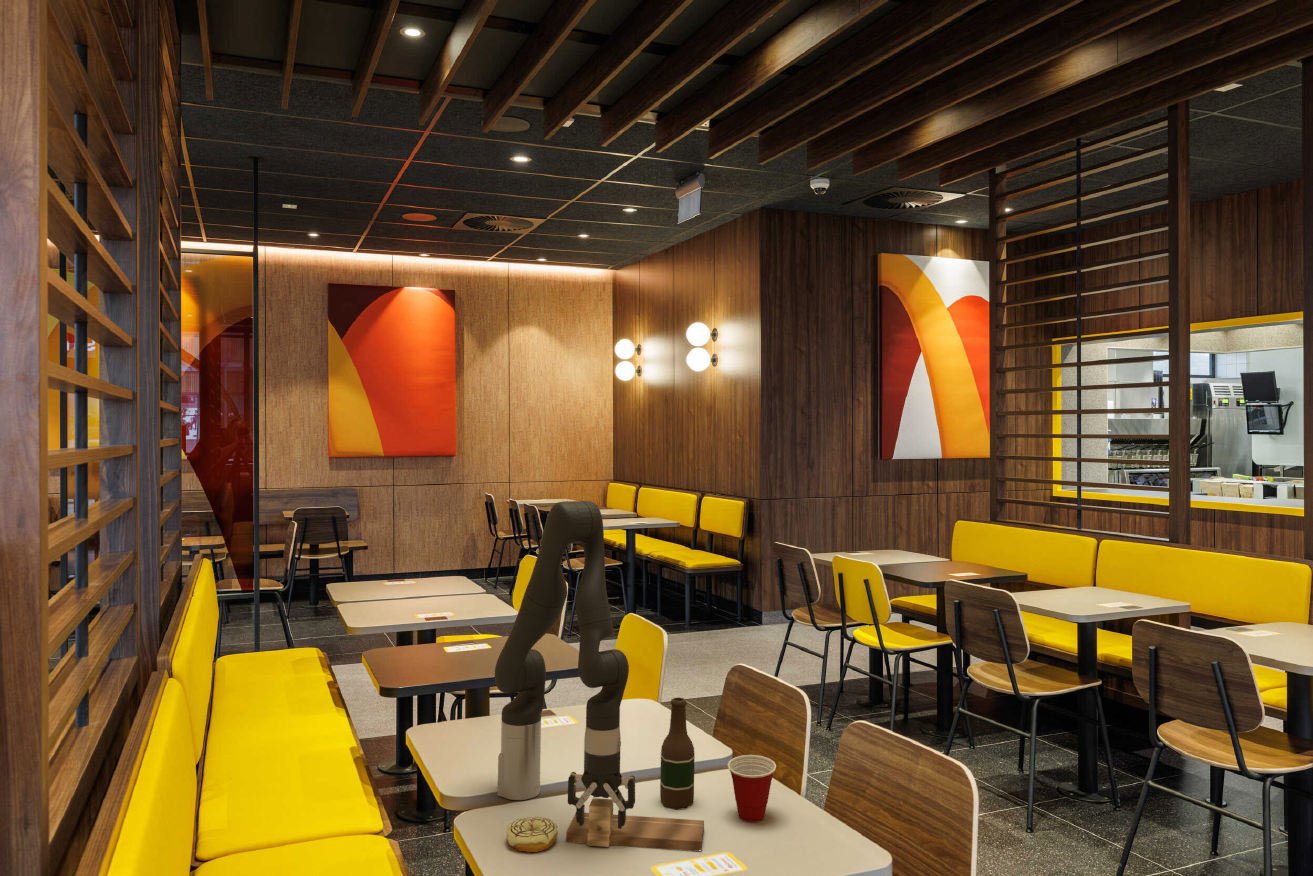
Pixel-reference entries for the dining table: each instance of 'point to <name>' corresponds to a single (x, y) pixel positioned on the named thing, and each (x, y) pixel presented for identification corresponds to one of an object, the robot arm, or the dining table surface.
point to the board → (646, 832)
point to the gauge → (600, 822)
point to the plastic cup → (751, 785)
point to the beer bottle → (677, 761)
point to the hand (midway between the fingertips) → (601, 825)
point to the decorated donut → (532, 834)
